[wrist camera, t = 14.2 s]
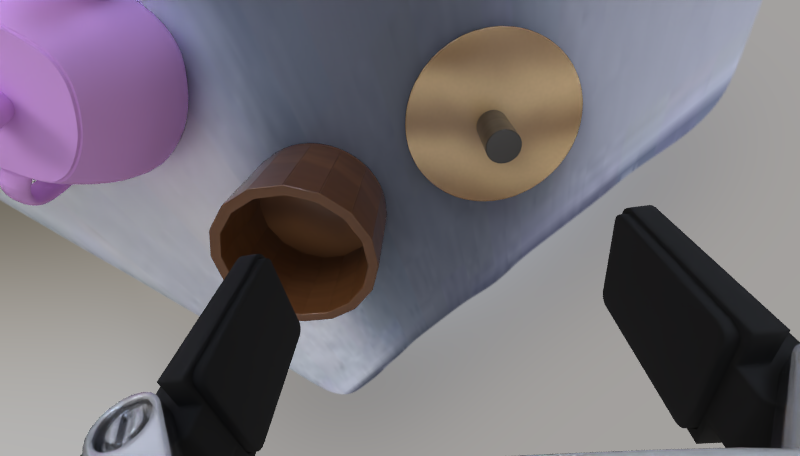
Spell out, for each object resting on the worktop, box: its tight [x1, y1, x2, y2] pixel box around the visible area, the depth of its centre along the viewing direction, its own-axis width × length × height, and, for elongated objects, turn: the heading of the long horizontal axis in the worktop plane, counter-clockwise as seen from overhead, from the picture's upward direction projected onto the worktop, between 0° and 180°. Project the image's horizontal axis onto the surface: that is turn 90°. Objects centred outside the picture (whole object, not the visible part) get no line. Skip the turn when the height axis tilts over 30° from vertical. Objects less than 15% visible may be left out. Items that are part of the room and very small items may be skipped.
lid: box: [405, 26, 583, 201], centre depth 27 cm, size 14×14×6 cm
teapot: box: [0, 0, 188, 205], centre depth 24 cm, size 20×13×12 cm, turn 153°
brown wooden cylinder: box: [209, 143, 387, 321], centre depth 31 cm, size 13×13×8 cm
